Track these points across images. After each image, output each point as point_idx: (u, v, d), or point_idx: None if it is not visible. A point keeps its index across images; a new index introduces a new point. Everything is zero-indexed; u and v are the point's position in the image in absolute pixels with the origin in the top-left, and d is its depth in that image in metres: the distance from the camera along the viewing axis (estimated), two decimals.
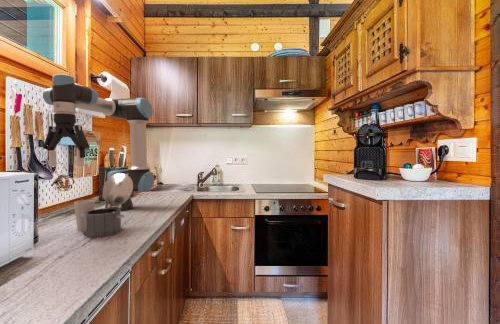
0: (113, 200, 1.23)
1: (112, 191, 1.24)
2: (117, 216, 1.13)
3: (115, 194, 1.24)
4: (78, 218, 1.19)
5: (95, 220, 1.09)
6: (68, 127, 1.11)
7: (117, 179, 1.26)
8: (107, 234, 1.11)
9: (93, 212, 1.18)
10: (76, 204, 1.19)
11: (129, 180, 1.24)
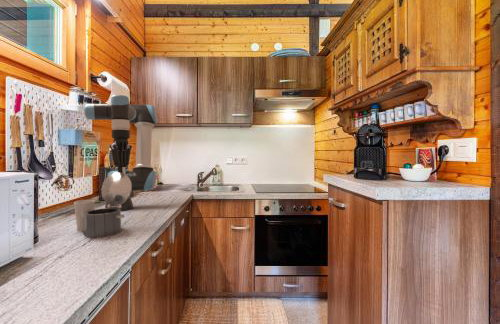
0: (113, 200, 1.23)
1: (111, 191, 1.24)
2: (117, 216, 1.13)
3: (114, 194, 1.23)
4: (78, 218, 1.19)
5: (95, 220, 1.09)
6: None
7: (115, 178, 1.24)
8: (107, 234, 1.11)
9: (93, 212, 1.18)
10: (76, 204, 1.19)
11: (127, 180, 1.23)
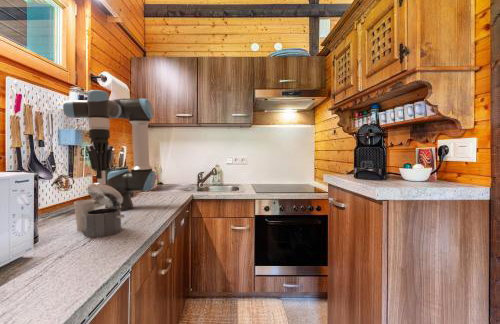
0: (109, 203, 1.20)
1: (101, 197, 1.18)
2: (117, 216, 1.13)
3: (107, 200, 1.19)
4: (78, 218, 1.19)
5: (95, 220, 1.09)
6: None
7: (97, 189, 1.14)
8: (107, 234, 1.11)
9: (93, 212, 1.18)
10: (76, 204, 1.19)
11: (111, 190, 1.13)
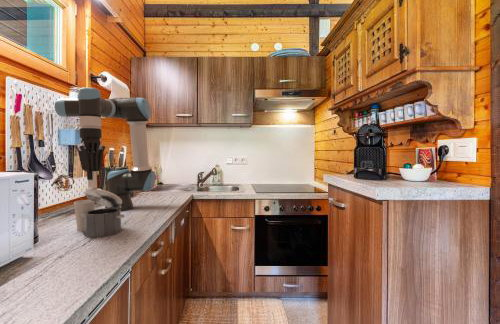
0: (109, 204, 1.20)
1: (100, 200, 1.17)
2: (117, 216, 1.13)
3: (106, 201, 1.18)
4: (78, 218, 1.19)
5: (95, 220, 1.09)
6: None
7: (95, 193, 1.13)
8: (107, 234, 1.11)
9: (93, 212, 1.18)
10: (76, 204, 1.19)
11: (109, 194, 1.12)
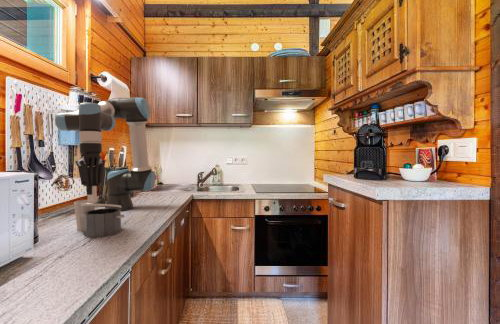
0: None
1: (98, 206, 1.16)
2: (117, 216, 1.13)
3: None
4: (78, 218, 1.19)
5: (95, 220, 1.09)
6: None
7: None
8: (107, 234, 1.11)
9: (93, 212, 1.18)
10: (76, 204, 1.19)
11: (106, 206, 1.10)
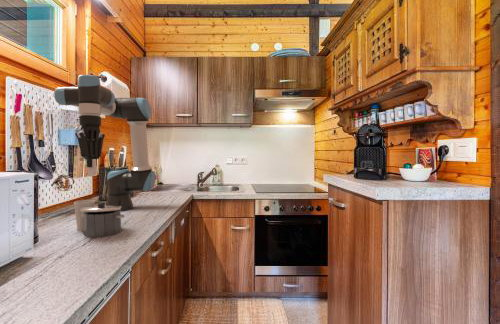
0: None
1: None
2: (117, 216, 1.13)
3: None
4: (78, 218, 1.19)
5: (95, 220, 1.09)
6: None
7: None
8: (107, 234, 1.11)
9: (93, 212, 1.18)
10: (76, 204, 1.19)
11: (105, 211, 1.10)
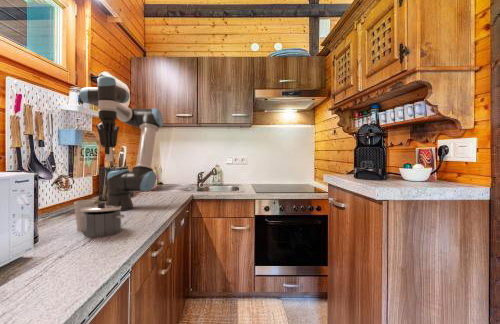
0: None
1: None
2: (117, 216, 1.13)
3: None
4: (78, 218, 1.19)
5: (95, 220, 1.09)
6: None
7: None
8: (107, 234, 1.11)
9: (93, 212, 1.18)
10: (76, 204, 1.19)
11: (105, 211, 1.10)
